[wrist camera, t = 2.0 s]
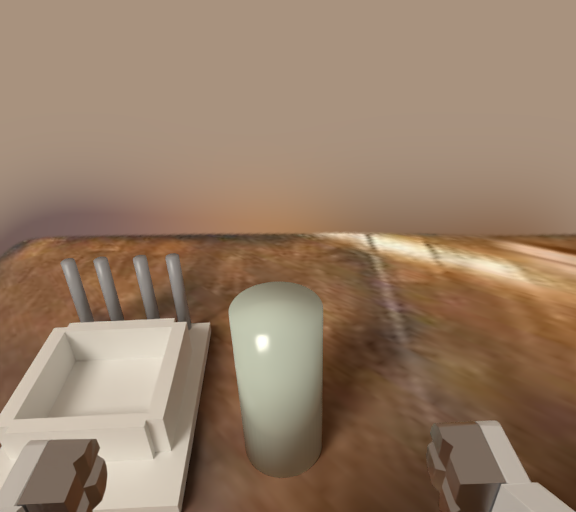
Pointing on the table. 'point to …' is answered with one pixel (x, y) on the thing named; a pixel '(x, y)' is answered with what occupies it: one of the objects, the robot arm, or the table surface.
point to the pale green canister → (279, 375)
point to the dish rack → (117, 392)
